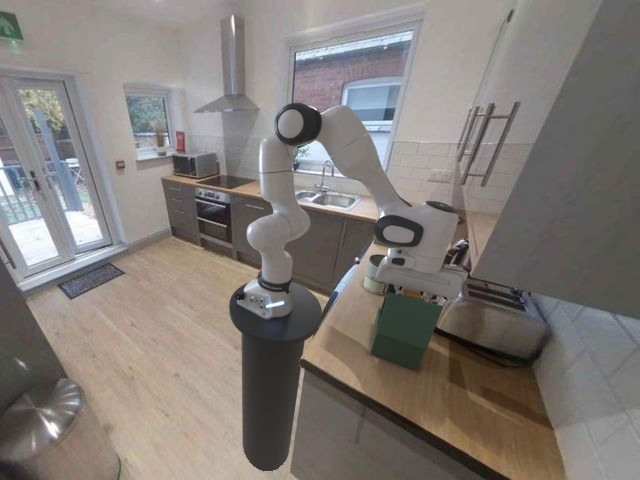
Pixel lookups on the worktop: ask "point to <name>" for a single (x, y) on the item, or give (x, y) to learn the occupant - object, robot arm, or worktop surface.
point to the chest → (394, 348)
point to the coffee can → (374, 276)
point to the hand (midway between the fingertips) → (409, 299)
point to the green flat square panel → (409, 320)
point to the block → (411, 293)
